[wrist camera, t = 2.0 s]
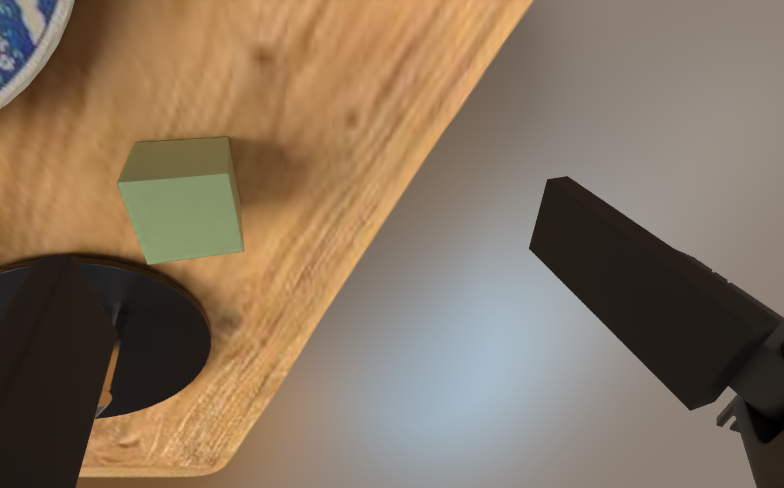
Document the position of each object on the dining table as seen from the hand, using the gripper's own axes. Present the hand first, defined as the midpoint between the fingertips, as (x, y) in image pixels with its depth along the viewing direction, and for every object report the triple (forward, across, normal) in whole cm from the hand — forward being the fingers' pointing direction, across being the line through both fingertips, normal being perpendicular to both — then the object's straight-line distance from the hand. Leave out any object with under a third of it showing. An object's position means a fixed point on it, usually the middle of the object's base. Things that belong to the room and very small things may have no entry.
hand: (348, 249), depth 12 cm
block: (+16, -6, -5) cm, 18 cm away
